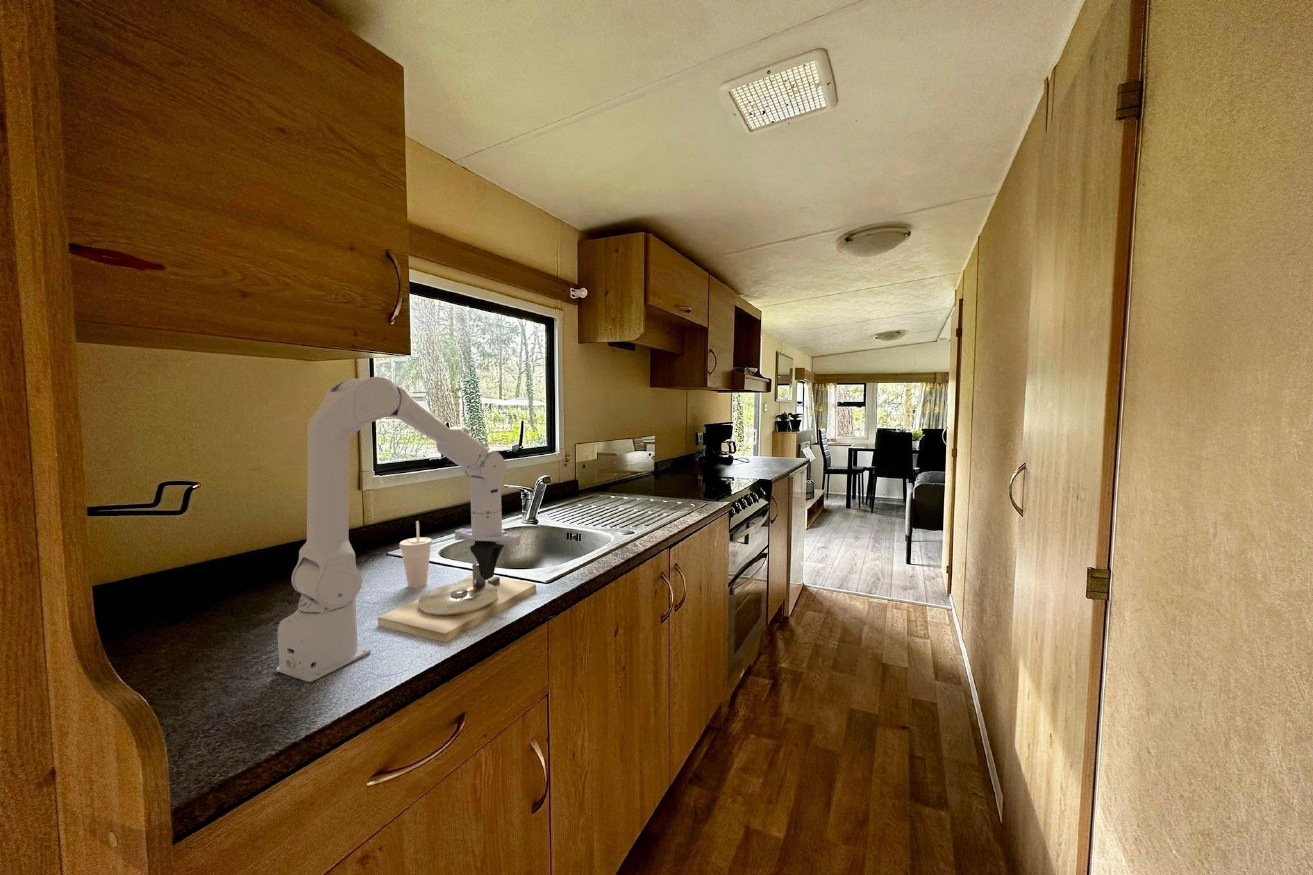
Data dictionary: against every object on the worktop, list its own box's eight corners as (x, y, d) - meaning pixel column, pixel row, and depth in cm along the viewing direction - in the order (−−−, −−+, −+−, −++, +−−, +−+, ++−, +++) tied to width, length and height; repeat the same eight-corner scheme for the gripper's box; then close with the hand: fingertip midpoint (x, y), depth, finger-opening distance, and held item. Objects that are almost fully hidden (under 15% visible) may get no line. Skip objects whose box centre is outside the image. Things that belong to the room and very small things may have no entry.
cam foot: (461, 621, 85) (460, 591, 84) (401, 608, 90) (399, 580, 90) (512, 592, 98) (512, 566, 97) (457, 582, 103) (457, 558, 103)
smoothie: (420, 591, 103) (418, 525, 102) (393, 589, 104) (391, 524, 103) (440, 580, 109) (437, 518, 108) (414, 578, 110) (412, 517, 109)
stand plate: (445, 642, 81) (445, 626, 81) (377, 625, 87) (377, 610, 87) (535, 591, 103) (535, 578, 103) (476, 580, 109) (476, 568, 109)
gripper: (529, 509, 98) (530, 575, 99) (471, 504, 103) (473, 567, 104) (506, 517, 92) (508, 588, 93) (446, 511, 97) (448, 578, 98)
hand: (488, 578), depth 98 cm, fingers closed
